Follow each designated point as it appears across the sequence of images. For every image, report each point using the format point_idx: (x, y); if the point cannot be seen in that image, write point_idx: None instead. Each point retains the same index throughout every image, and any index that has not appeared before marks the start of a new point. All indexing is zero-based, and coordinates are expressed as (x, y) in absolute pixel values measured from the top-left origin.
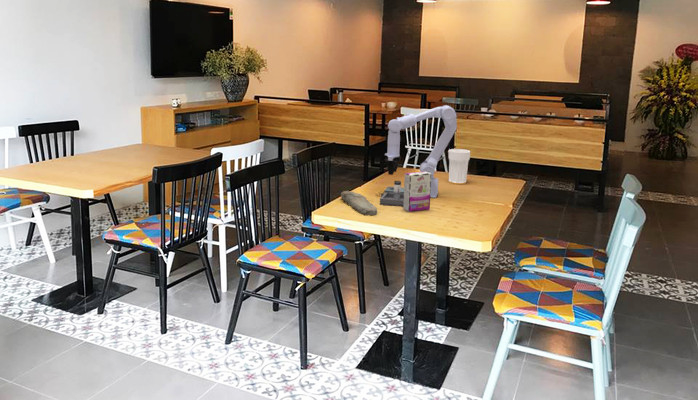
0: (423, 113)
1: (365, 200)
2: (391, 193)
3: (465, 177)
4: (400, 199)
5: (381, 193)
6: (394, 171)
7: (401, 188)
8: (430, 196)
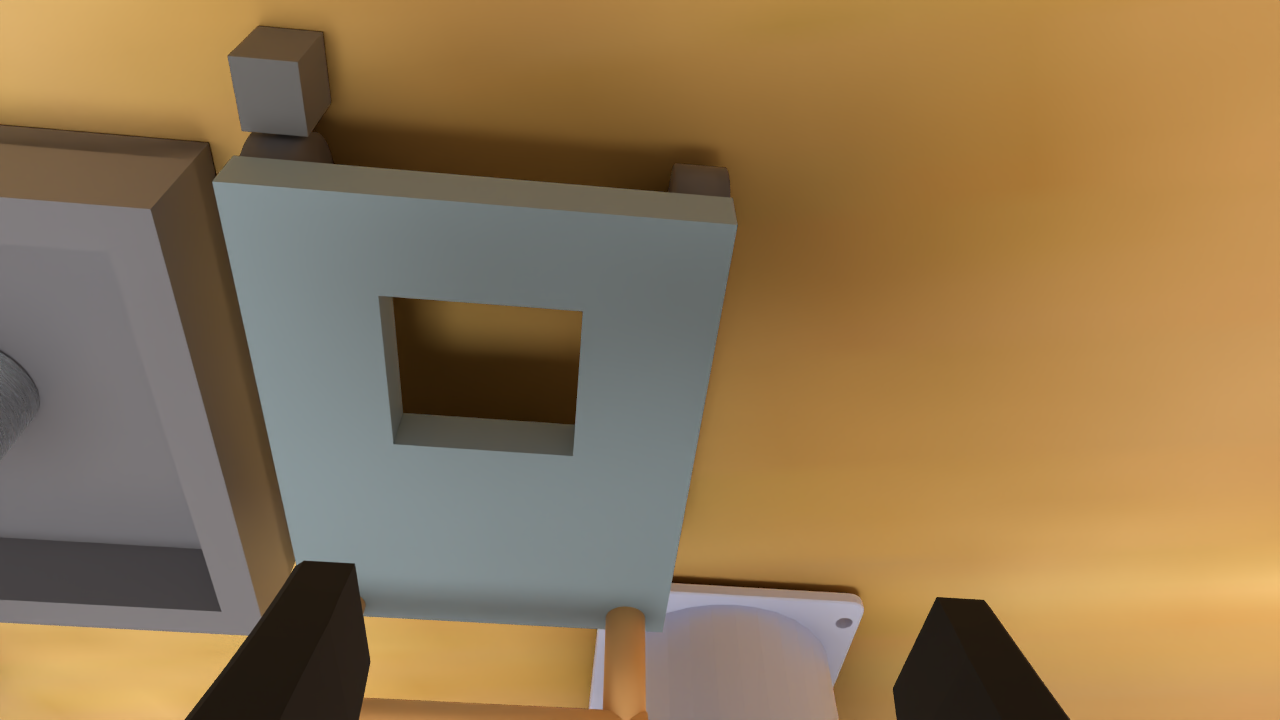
0: None
1: None
2: (135, 331)
3: None
4: (125, 432)
5: (267, 59)
6: (912, 673)
7: (596, 489)
8: None
